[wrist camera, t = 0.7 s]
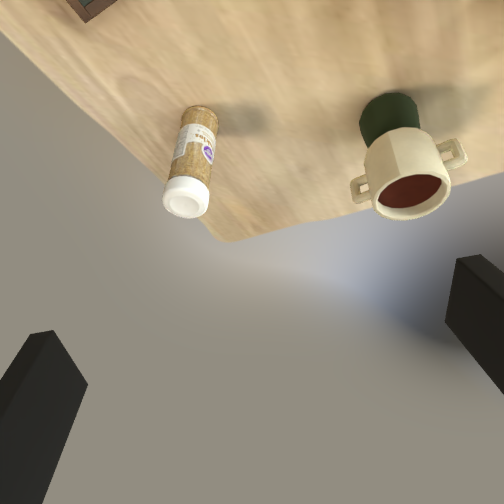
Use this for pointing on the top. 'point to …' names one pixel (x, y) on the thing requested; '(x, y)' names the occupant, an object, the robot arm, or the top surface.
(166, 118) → the top surface
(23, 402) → the robot arm
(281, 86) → the top surface
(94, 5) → the chalkboard
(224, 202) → the top surface
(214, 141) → the sprinkles bottle
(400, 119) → the cream and green goblet
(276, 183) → the top surface
